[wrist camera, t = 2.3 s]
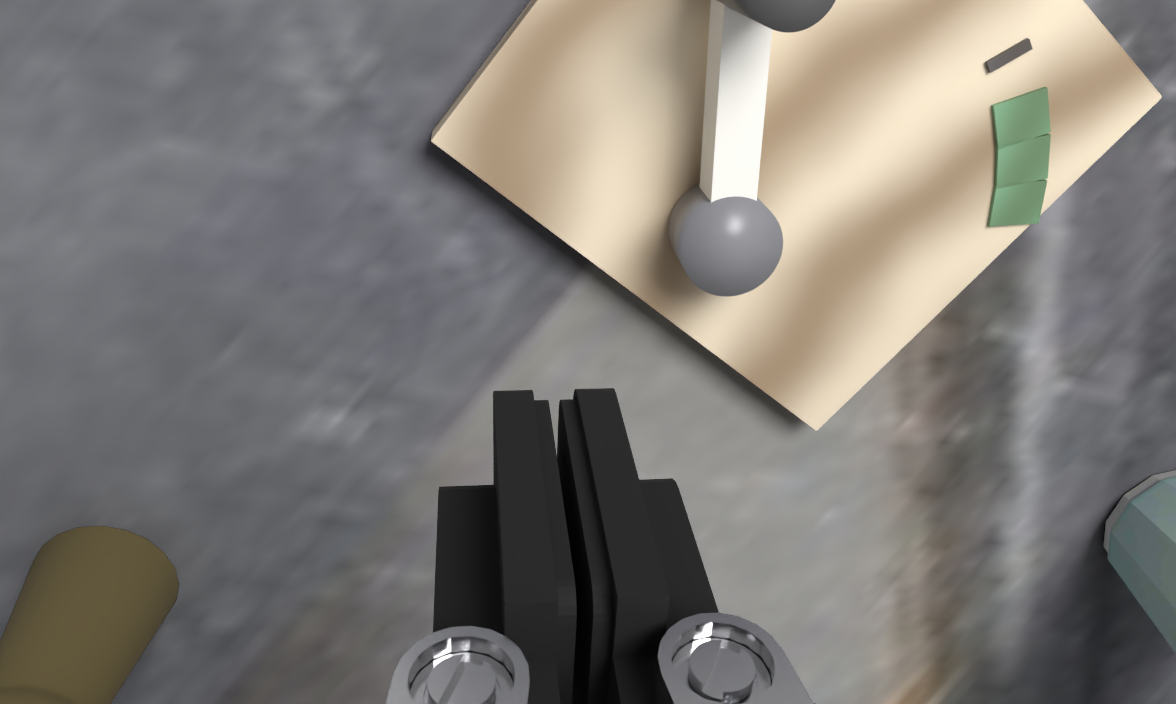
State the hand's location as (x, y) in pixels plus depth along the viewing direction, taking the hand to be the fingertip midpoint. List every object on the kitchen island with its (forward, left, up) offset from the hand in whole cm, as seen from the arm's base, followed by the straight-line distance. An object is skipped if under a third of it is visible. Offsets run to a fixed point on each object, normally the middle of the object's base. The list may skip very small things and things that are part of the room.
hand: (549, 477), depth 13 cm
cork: (+1, +27, -23) cm, 36 cm away
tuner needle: (-6, -5, -21) cm, 22 cm away
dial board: (-8, -7, -23) cm, 25 cm away
